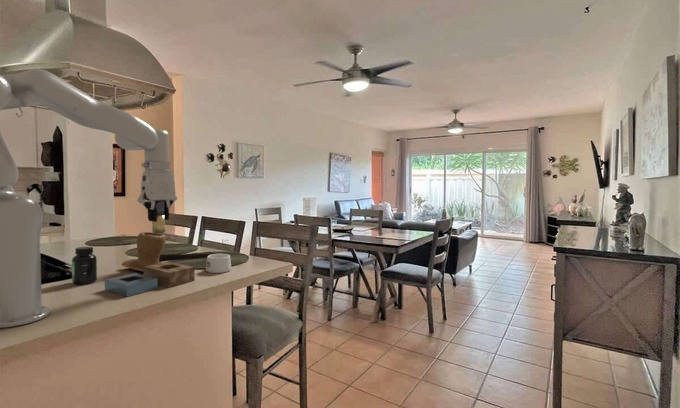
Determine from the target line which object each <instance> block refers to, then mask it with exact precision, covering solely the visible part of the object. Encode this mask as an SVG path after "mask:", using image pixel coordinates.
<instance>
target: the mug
mask: <svg viewBox="0 0 680 408" xmlns="http://www.w3.org/2000/svg"><path fill="white" fill-rule="evenodd" d="M231 261H232V260H231V255H230V254H229V253H228V254H227V253H216V254H212V255H209V256H207V257H206V263H205V271H206V272H207V273H209V274H222V273H223V274H224V273H227V272H230V271H231V270H232V263H231Z"/></svg>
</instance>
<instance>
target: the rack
mask: <svg viewBox="0 0 680 408" xmlns="http://www.w3.org/2000/svg"><path fill="white" fill-rule="evenodd" d="M195 269H196V268H195V266H193V265H189V264H183V263H177V262H174V261H163V262H160V263H159V264H155V265H150V266H145V267H144V272H143V275H147V276H151V277H155V278H157V285H160V286H161V287H162V286H163V287H166V288H172V287H176V286H180V285H182V284H183V285H184V284H187V283H190V282H193V281H195V279H196V278H195V274H196V273H195Z"/></svg>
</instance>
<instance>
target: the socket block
mask: <svg viewBox="0 0 680 408" xmlns="http://www.w3.org/2000/svg"><path fill="white" fill-rule="evenodd" d="M154 290H158V284H157V278H155V277H151V276H147V275H144V274H142V273H137V272H132V273H129V274H123V275H119V276H114V277H109V278H105V279H104V291H106V292H110V293H112V294H113V293H114V294H115V295H119V296H123V297H126V298H128V297H132V296H135V295H138V294H142V293H147V292H150V291H154Z"/></svg>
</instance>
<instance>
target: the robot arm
mask: <svg viewBox="0 0 680 408" xmlns="http://www.w3.org/2000/svg"><path fill="white" fill-rule="evenodd" d="M40 105H41V106H42V107H45V108H46V109H49V110H50V111H52V112H54V113H57V114H58V115H60V116H62V117H64V118H66V119H68V120H70V121H72V122H74V123H75V124H77V125H79V126H82V127H85V128H89V129H94V130H99V131H104V132H107V133H111V134H114V141H115V143H116V145H117V146H118V147H119V148H121V149H123V150H125V151H126V150H127V151H144V162H141V167H142V168H144V170H143V171H142V176H141V181H140V182H141V184H140V195H139V196H138V198H137V201H136V202H138V203H140V205H142V206H143V207H145V210H147V219H148V221H149V222H152V221H156V210H154V206H155V201H157V200H165V221H168V220H169V218H170V210H169V209H171V206H172V204H173V203H175V202H176V201H177V200H178V197H177V195H176V183H175V178H174V177H175V176H174V173H173V171H172V170H170V169H171V165H170V134H169V132H168V131H167V130H164V129H157V128H156V129H154V127H152V126H151V125H149V123H147V122H145V121H144V120H142V119H140V118H138V117H137V116H135V115H133V114H131V113H130V112H127V111H124V110H122V109H119V108H118V107H114V106H113V105H110V104H107V103H105V102H102V101H100V100H99V99H96V98H94V97H92V96H91V95H89V94H87V93H86V92H84V91H82V90H81V89H79V88H77V87H76V86H74V85H73V84H71V83H69V82H68V81H65V80H64V79H63V78H61V77H59V76H57V75H56V74H54V73H52V72H50V71H48V70H45V69H42V68H34V69H29V70H25V71H22V72H17V73H9V74H0V111H4V110H5V111H6V110H13V109H21V108H27V107H32V106H40ZM19 174H20V172H19V169H18V166H17V165H16V162H15V161H14V158H13V156H12V155H11V152H10V150H9V148H8V146H7V144H6V142H5V140H4V138H3V135H2V133H1V131H0V328H1V329H2V328H11V327H17V326H18V327H19V326H22V325H27V324H30V323H34V322H36V321H40V320H42V319H44V318H46V317H47V316H48V315H49V314H50V312H51V311H50V307H48V306H46V305H43V304H42V299H43V298H42V267H41V266H42V263H41V262H42V261H41V260H42V259H41V238H42V237H41V234H42V228H43V222H44V213H43V209H42V207H41V204H39V202H37V201H36V199H34V198H32V197H30V196H28V195H26V194H22V193H16V191H15V190H14V187H13V186H15V184H16V183H17V181H18V179H19V176H20V175H19Z"/></svg>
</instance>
